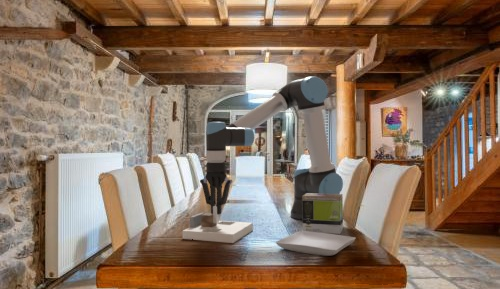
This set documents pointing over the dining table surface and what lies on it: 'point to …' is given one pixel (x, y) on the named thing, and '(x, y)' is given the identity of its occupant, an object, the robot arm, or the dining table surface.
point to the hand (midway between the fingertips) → (216, 222)
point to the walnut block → (207, 220)
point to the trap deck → (216, 230)
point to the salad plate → (315, 243)
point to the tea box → (322, 213)
